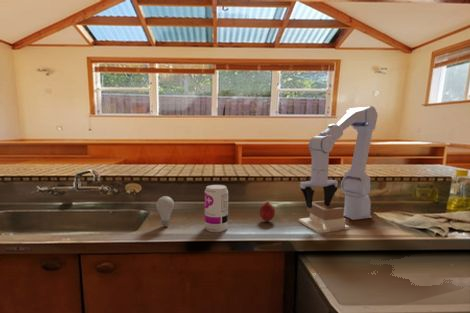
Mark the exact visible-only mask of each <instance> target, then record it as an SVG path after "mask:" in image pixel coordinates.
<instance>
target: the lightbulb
mask: <svg viewBox="0 0 470 313" xmlns="http://www.w3.org/2000/svg"><path fill="white" fill-rule="evenodd" d="M155 206H156V209H157V212H158V213H159V216H160V220H161V225H162V226H163V227H168V226H169V225H170V220H171V214H172V212H173V209H174V206H175V202H174V199H173V198H172V197H170V196H167V195H166V196H165V195H163V196H161V197H160V198H158V199H157V201H156V204H155Z"/></svg>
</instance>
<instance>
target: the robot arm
mask: <svg viewBox="0 0 470 313" xmlns="http://www.w3.org/2000/svg"><path fill="white" fill-rule="evenodd" d="M378 114H379V113H378V112H377V109H376V108H375V106H372V105H371V106H362V107H349V108H348V109H347V110H345V113H344V116H342V117H341V119H340V120H338V121H337V123H330V124H328V125H327V127H326V129H324V130H322V131H321V132H320V133H319V134H318V135H313V136H312V137H311V138H310V139H309V143H308V149H309V151H310V156H311V166H310V167H311V171H310V180H307V181H300V182H299V188H300V191H301V192H302V194H303V197H304V199H305V200H304V201H305V204H306V208H307V207H308V208H312V202H313V199H314V198H313V197H314V195H315V194H314V193H315V189H312V188H321V187H322V188H323V193H324V194H323V197H324V198H323V201H324V205H326V206H327V207H330V205H331V202H332V199H333V197H334V195H335V194H336V192H337V191H338V185H339V184H338V180H335V179H328V177H329V157H330V152H332V150H333V148H334V145H335V143H336V142H337V141H338V140H339V139H340V138H342V136H343V135H344V131H345V130H346V129H348V128H349V127H350V126H351V127H352V129H353V130H356V132H357V135H356V140H355V146H354V150H353V156H352V162H351V165H350V169H349V170H347V171H346V172H345V173H344V175H343V178H342V180H341V182H340V188H341V191H343V194H344V207H343V208H344V217H346V218H348V219H351V220H354V221H355V220H362V219H363V220H364V219H369V218H372V216H371V204H372V202H371V198H370V196H369V193H370V192H371V187H372V186H371V177H370V176H369V175H368V174H367V173H366V167H367V162H368V156H369V152H370V148H371V147H370V146H371V142H372V137H373V136H372V135H373V131H374V130H375V129H376V127H377V121H378Z"/></svg>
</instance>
